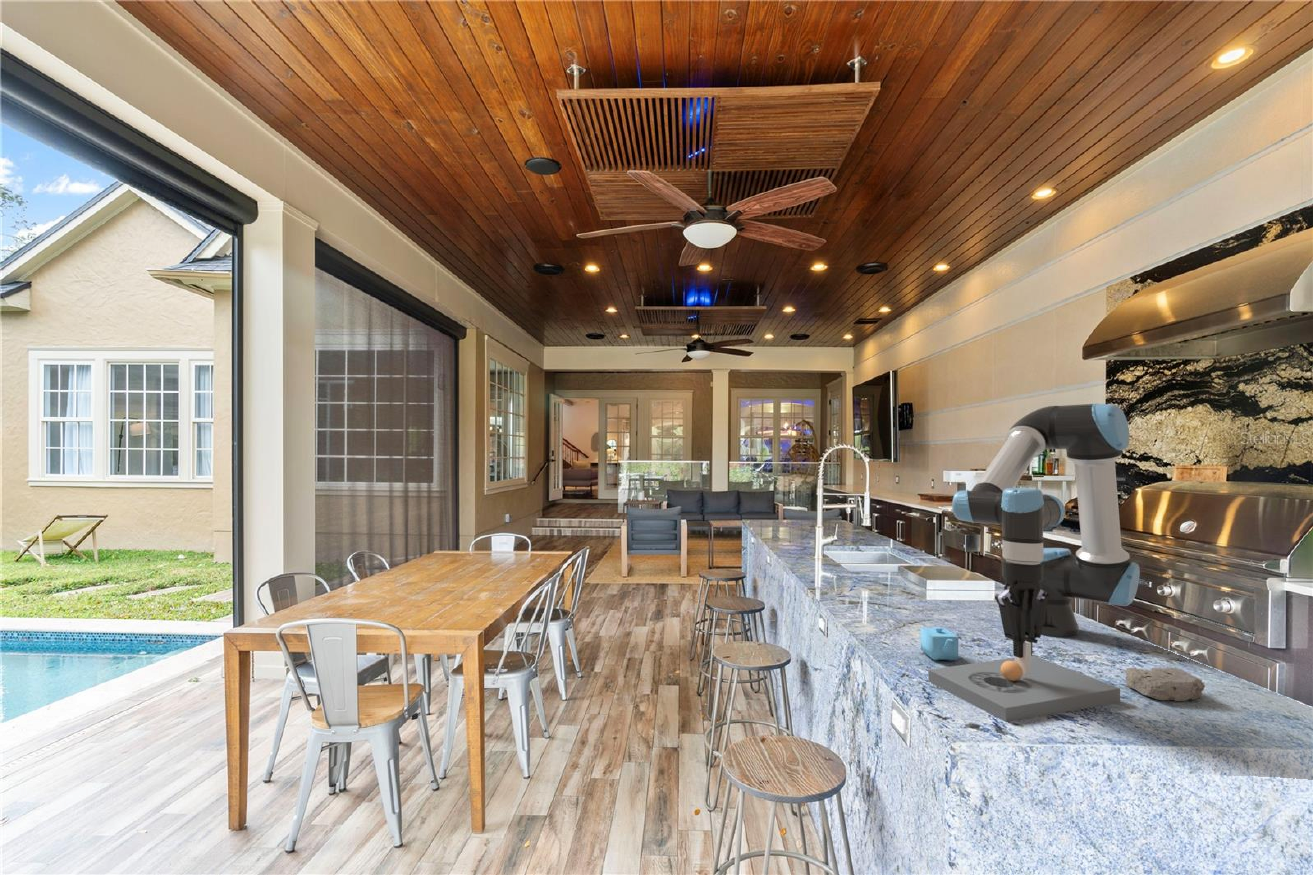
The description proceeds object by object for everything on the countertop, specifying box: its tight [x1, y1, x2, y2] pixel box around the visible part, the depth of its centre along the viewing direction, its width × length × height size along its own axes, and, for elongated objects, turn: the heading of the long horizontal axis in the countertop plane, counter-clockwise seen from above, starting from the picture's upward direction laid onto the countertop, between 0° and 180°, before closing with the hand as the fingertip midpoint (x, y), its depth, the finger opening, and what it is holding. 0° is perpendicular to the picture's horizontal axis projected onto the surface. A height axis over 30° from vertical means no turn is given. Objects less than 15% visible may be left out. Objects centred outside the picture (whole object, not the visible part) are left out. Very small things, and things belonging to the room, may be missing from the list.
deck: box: [927, 654, 1121, 723], centre depth 128 cm, size 30×20×3 cm, turn 107°
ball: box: [1001, 661, 1023, 681], centre depth 127 cm, size 4×4×4 cm
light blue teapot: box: [920, 626, 959, 662], centre depth 147 cm, size 12×6×8 cm, turn 178°
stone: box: [1125, 666, 1206, 702], centre depth 127 cm, size 13×6×10 cm
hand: (1022, 671), depth 128 cm, fingers closed
